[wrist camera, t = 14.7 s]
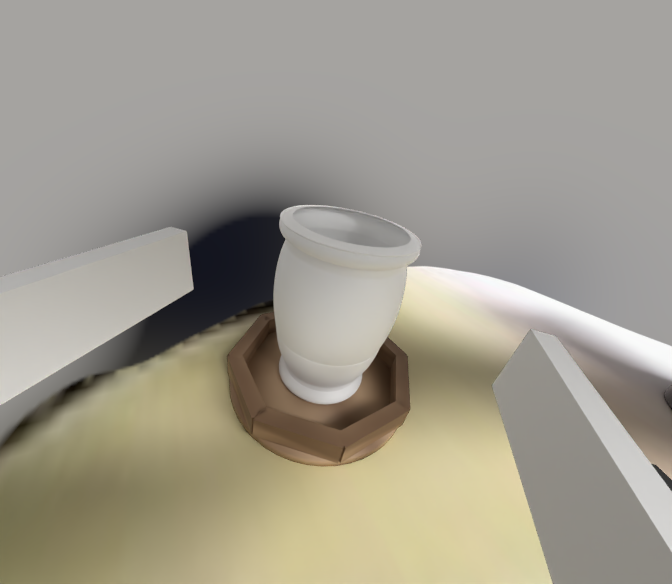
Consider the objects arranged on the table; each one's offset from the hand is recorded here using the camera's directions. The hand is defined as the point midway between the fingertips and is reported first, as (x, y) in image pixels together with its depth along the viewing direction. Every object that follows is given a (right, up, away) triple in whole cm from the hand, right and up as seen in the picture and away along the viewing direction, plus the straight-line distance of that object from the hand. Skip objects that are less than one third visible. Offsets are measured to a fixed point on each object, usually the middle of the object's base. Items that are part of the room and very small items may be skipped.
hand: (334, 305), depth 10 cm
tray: (-1, -8, +17) cm, 19 cm away
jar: (-1, -7, +16) cm, 18 cm away
